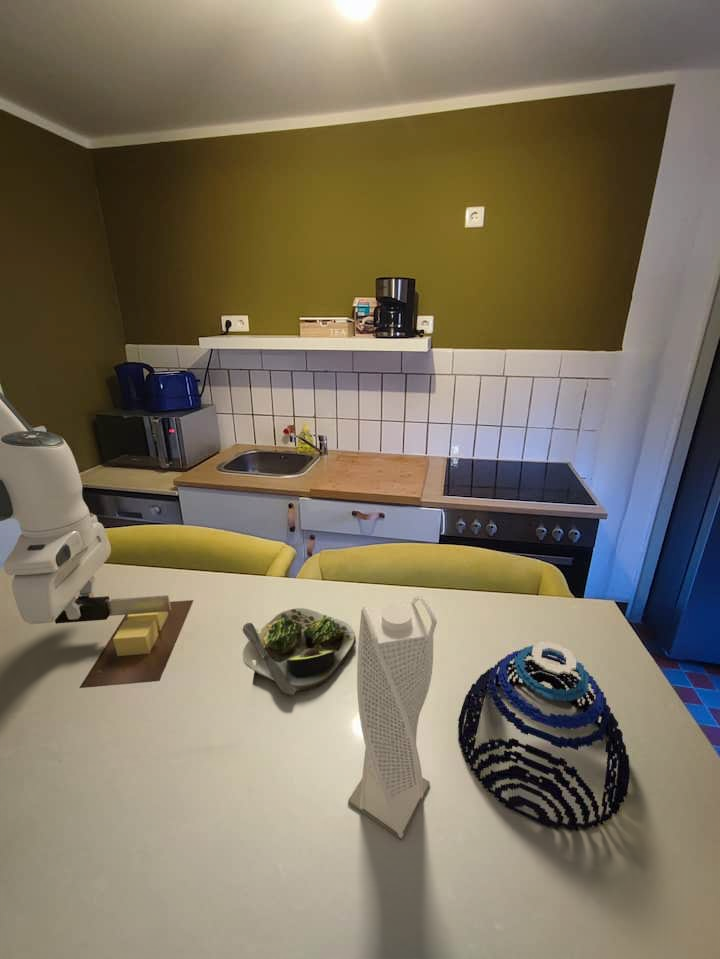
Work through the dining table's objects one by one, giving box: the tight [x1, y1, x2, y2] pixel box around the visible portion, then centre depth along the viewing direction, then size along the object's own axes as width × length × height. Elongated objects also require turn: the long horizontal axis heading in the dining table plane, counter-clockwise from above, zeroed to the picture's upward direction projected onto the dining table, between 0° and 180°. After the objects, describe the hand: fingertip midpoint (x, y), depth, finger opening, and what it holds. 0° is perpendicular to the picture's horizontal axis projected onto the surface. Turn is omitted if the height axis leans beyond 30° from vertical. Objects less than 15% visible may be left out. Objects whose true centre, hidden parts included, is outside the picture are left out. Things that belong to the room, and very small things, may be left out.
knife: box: [54, 595, 171, 624], centre depth 72 cm, size 18×2×3 cm, turn 96°
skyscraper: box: [347, 594, 438, 841], centre depth 44 cm, size 8×8×28 cm
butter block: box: [113, 618, 158, 656], centre depth 71 cm, size 5×4×4 cm
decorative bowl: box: [457, 640, 631, 832], centre depth 53 cm, size 20×20×14 cm
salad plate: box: [242, 607, 357, 696], centre depth 71 cm, size 19×18×5 cm
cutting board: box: [79, 599, 194, 689], centre depth 73 cm, size 16×20×2 cm
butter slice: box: [127, 612, 168, 631], centre depth 76 cm, size 5×4×4 cm
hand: (82, 609), depth 71 cm, fingers closed on knife, 2 cm apart
